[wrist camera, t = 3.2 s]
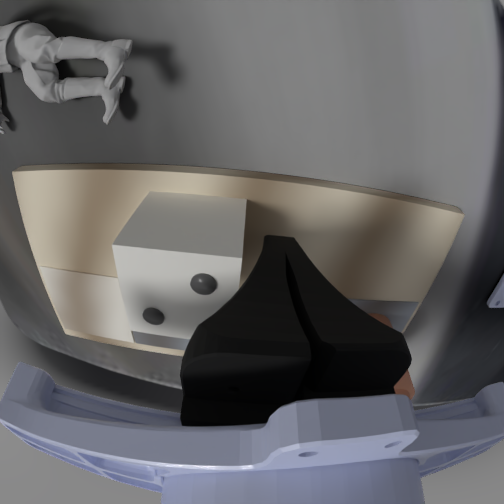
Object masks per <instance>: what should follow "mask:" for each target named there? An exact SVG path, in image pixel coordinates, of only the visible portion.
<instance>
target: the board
mask: <svg viewBox="0 0 504 504" xmlns="http://www.w3.org/2000/svg"><path fill="white" fill-rule="evenodd" d="M12 174H13V179H14V184H15V189H16V193H17V198H18V202H19V206H20V210H21V214H22V218H23V222H24V225H25V229H26V233H27V236H28V239H29V243H30V246H31V249H32V252H33V255H34V258H35V261H36V264H37V267H38V269H39V272H40V275H41V278H42V280H43V283H44V285H45V288H46V291H47V293H48V295H49V298H50V300H51V303H52V305H53V307H54V310H55V312H56V314H57V316H58V319H59V321H60V323H61V325H62V327H63V329H64V331H65V334H68V335H72V336H76V337H81V338H85V339H89V340H94V341H98V342H103V343H108V344H113V345H118V346H123V347H128V348H134V349H140V350H145V351H152V352H158V353H164V354H171V355H178V356H183V355H184V352H185V350H186V347H187V345H188V343H189V341H190V339H183V338H175V337H168V336H162V335H155V334H149V333H142V332H136V331H131V330H130V326H129V322H128V318H127V315H126V310H125V306H124V302H123V298H122V294H121V289H120V284H119V280H118V275H117V270H116V265H115V260H114V254H113V249H112V244H113V242H114V241H115V239H116V238H117V236H118V235H119V233H120V232H121V230H122V229H123V227H124V226H125V225H126V223H127V222H128V220H129V219H130V218H131V216H132V215H133V213H134V212H135V211H136V209H137V208H138V206H139V205H140V204H141V202H142V201H143V200H144V198H145V197H146V196H147V194H148V193H149V192H150V191H157V192H171V193H185V194H197V195H209V196H220V197H230V198H240V199H247V202H246V215H245V228H244V241H243V255H242V265H241V274H240V282H239V288H240V287H241V286H242V285H243V283H244V282H245V281H246V279H247V278H248V276H249V275H250V273H251V271H252V270H253V268H254V266H255V264H256V263H257V261H258V258H259V256H260V254H261V251H262V248H263V241H264V236H266V235H276V236H286V237H294V238H295V240H296V241H297V242H298V244H299V245H300V246H301V248H302V249H303V251H304V252H305V253H306V255H307V256H308V257H309V259H310V260H311V261H312V263H313V264H314V265H315V266H316V268H317V269H318V270H319V271H320V272H321V273H322V274H323V276H324V277H325V278H326V279H327V280H328V281H329V282H330V283H331V284H332V285H333V286H334V287H335V288H336V289H337V290H338V291H339V292H340V293H342V294H343V295H344V296H345V297H346V298H347V299H348V300H350V301H351V302H352V303H354V304H355V305H356V306H358V307H359V308H360V309H362V310H363V311H364V312H366V313H367V314H369V313H377V314H382V315H384V316H386V317H387V318H388V319H389V320H390V322H391V325H392V327H393V329H395V330H397V331H399V332H401V333H402V334H403V333H404V331H405V330H406V328H407V327H408V325H409V323H410V322H411V320H412V318H413V317H414V315H415V313H416V312H417V310H418V308H419V307H420V305H421V303H422V301H423V300H424V298H425V296H426V294H427V293H428V291H429V289H430V287H431V285H432V283H433V282H434V280H435V278H436V276H437V274H438V272H439V270H440V268H441V266H442V264H443V262H444V260H445V258H446V256H447V254H448V252H449V250H450V247H451V245H452V243H453V241H454V239H455V237H456V234H457V232H458V230H459V227H460V225H461V223H462V220H463V218H464V215H465V214H464V213H463V212H462V211H461V210H460V209H458V208H457V207H455V206H451V205H447V204H443V203H438V202H434V201H430V200H425V199H421V198H416V197H412V196H407V195H402V194H398V193H393V192H388V191H382V190H377V189H372V188H366V187H361V186H355V185H349V184H343V183H337V182H331V181H324V180H318V179H311V178H303V177H296V176H288V175H280V174H272V173H263V172H254V171H244V170H233V169H222V168H209V167H195V166H179V165H158V164H122V163H81V164H47V165H28V166H20V167H19V168H17V169H16V170H14V171H13V172H12Z"/></svg>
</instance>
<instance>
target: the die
mask: <svg viewBox="0 0 504 504" xmlns="http://www.w3.org/2000/svg"><path fill="white" fill-rule="evenodd" d="M246 202H247V199H240V198H230V197H220V196H209V195H197V194H185V193H171V192H157V191H150V192H149V193H148V194H147V196H146V197H145V198H144V200H143V201H142V202H141V204H140V205H139V206H138V208H137V209H136V211H135V212H134V213H133V215H132V216H131V218H130V219H129V220H128V222H127V223H126V225H125V226H124V227H123V229H122V230H121V232H120V233H119V235H118V236H117V238H116V239H115V241H114V242H113V244H112V249H113V254H114V260H115V265H116V270H117V275H118V280H119V284H120V289H121V294H122V298H123V302H124V306H125V310H126V315H127V318H128V322H129V326H130V330H131V331H136V332H142V333H149V334H155V335H162V336H168V337H175V338H183V339H191V337H192V335H193V333H194V331H195V330H196V328H197V326H198V325H199V324H200V323H202V322H203V321H204V320H206V319H207V318H209V317H210V316H211V315H213V314H214V313H215V312H217V311H218V310H219V309H220V308H221V307H222V306H223V305H224V304H225V303H226V302H228V301H229V300H230V299H231V297H232V296H233V295H234V294H235V293H236V292H237V291H238V290H239V282H240V274H241V265H242V255H243V241H244V228H245V215H246Z"/></svg>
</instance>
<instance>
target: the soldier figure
mask: <svg viewBox="0 0 504 504" xmlns="http://www.w3.org/2000/svg"><path fill="white" fill-rule="evenodd" d="M132 41H133V40H126V39H119V40H114V41H107V42H104V41H101V40H92V39H84V38H79V37H73V36H68V37H59V38H56V37H55V36H54V34H53V33H51V32H50V31H49V30H48V29H47V28H46V27H45V26H43V25H41V24H38V23H31V22H30V21H29V20H25V21H18V22H15V23H11V24H8V25H5V26H0V73H3V72H11V73H12V72H14V71H16V70H17V69H19V68H21V70H22V72H23V77H24V81H25V83H26V84H27V85H28V86H29V88H30V89H31V90H32V91H33V92H34V93H35V95H36V96H37V97H38V98H39V99H40V100H43V101H46V102H58V103H64V102H65V101H66V100H70V99H74V98H79V97H87V96H100V95H101V96H102V99H103V100H104V102H105V105H106V113H105V115H104V117H103V121H104V123H106V124H107V125H108V124H109V123H110V122H111V121H112V120H113V118H114V117H115V115H116V113H117V110H118V107H119V97H120V93H122V92H123V89H124V86H125V77H123V76H122V75H123V72H124V63H125V60H127V59H128V57H129V55H130V53H131V49H132V44H133V42H132ZM78 58H84V59H92V58H98V59H100V60H102V61H104V63H105V64H106V65H107V67H108V69H109V73H108V75H107V77H106V79H105V78H103V77H93V78H89V77H78V78H70V77H67V78H65V79H64V80H59V73H58V69H57V67H56V65H55V63H57V62H59V61H60V60H62V59H78ZM1 107H2V100H1V87H0V108H1ZM3 120H5V121H8V122H9V119H7V118H6V117H5V116H4V115H3V114H2V113H1V112H0V132H1V133H2V134H6V132H5V131H4V130H3V127H2V126H1V123H2V121H3Z"/></svg>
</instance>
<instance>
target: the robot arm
mask: <svg viewBox="0 0 504 504" xmlns="http://www.w3.org/2000/svg"><path fill="white" fill-rule="evenodd" d="M487 305H488V306H489V308H504V274H503V276H502V278H501V279H500V281H499V283H498V284H497V286H496V288H495V289H494V291H493V293H492V294H491V296H490V297H489V299H488V301H487ZM411 360H412V358H411V354H410V351H409V349H408V346H407V343H406V341H405V338H404V336H403V334H402V333H401V332H399V331H397V330H395V329H393V328H391V327H389V326H387V325H385V324H384V323H382V322H380V321H378V320H377V319H375V318H374V317H372V316H370V315H369V314H367V313H366V312H364V311H363V310H362V309H360V308H359V307H358V306H356V305H355V304H354V303H352V302H351V301H350V300H348V299H347V298H346V297H345V296H344V295H343V294H342V293H340V292H339V291H338V290H337V289H336V288H335V287H334V286H333V285H332V284H331V283H330V282H329V281H328V280H327V279H326V278H325V277H324V276H323V274H322V273H321V272H320V271H319V270H318V269H317V268H316V266H315V265H314V264H313V263H312V261H311V260H310V259H309V257H308V256H307V255H306V253H305V252H304V251H303V249H302V248H301V246H300V245H299V244H298V242H297V241H296V240H295V238H294V237H286V236H276V235H266V236H264V241H263V248H262V251H261V254H260V256H259V258H258V261H257V263H256V264H255V266H254V268H253V270H252V271H251V273H250V275H249V276H248V278H247V279H246V281H245V282H244V283H243V285H242V286H241V287H240V288H239V290H238V291H237V292H236V293H235V294H234V295H233V296H232V297H231V299H230V300H229V301H228V302H226V303H225V304H224V305H223V306H222V307H221V308H220V309H219V310H218V311H217V312H215V313H214V314H213V315H211V316H210V317H209V318H207V319H206V320H204V321H203V322H202V323H200V324H199V325H198V326H197V328H196V330H195V331H194V333H193V335H192V337H191V339H190V341H189V343H188V345H187V347H186V350H185V352H184V355H183V359H182V365H181V372H180V377H181V384H182V389H183V395H184V396H183V402H182V409H181V413H175V412H169V411H162V410H157V409H151V408H146V407H141V406H136V405H131V404H127V403H122V402H118V401H114V400H109V399H106V398H102V397H98V396H94V395H90V394H87V393H83V392H80V391H76V390H73V389H70V388H67V387H63V386H60V385H57V384H55V382H54V380H53V379H52V377H51V376H50V375H49V374H48V373H47V372H46V371H44V370H42V369H40V368H37V367H34V366H32V365H29V364H26V363H24V362H18V364H17V366H16V368H15V370H14V372H13V375H12V377H11V379H10V381H9V383H8V385H7V388H6V390H5V392H4V394H3V397H2V399H1V401H0V423H1V424H3V425H4V426H5V427H6V428H7V429H9V430H10V431H11V432H12V433H14V434H15V435H16V436H17V437H19V438H20V439H21V440H22V441H24V442H25V443H26V444H28V445H29V446H31V447H33V448H35V449H37V450H40V451H42V452H44V453H46V454H48V455H51V456H53V457H55V458H57V459H60V460H62V461H65V462H67V463H69V464H72V465H74V466H77V467H79V468H82V469H84V470H87V471H90V472H92V473H95V474H98V475H101V476H103V477H106V478H109V479H113V480H116V481H119V482H122V483H125V484H129V485H132V486H136V487H140V488H143V489H147V490H152V491H155V492H160V493H162V498H161V504H425V501H424V495H423V489H422V483H421V478H422V477H424V476H427V475H430V474H433V473H436V472H438V471H441V470H443V469H446V468H448V467H451V466H453V465H456V464H458V463H461V462H463V461H465V460H467V459H470V458H472V457H474V456H477V455H479V454H481V453H483V452H485V451H487V450H488V449H490V448H491V447H493V446H494V445H496V444H497V443H498V442H500V441H501V440H502V439H504V384H503V382H499V383H495V384H492V385H489V386H486V387H485V388H483V389H482V390H481V391H479V392H478V393H477V395H476V396H475V397H474V398H470V399H466V400H462V401H458V402H454V403H450V404H446V405H441V406H436V407H432V408H426V409H421V410H416V411H414V409H413V405H412V402H411V400H410V399H409V397H408V396H406V395H401V394H396V393H395V390H394V386H395V385H396V384H397V382H398V381H399V380H400V379H401V378H402V376H403V375H404V374H405V373H406V371H407V370H408V368H409V366H410V364H411Z"/></svg>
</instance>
